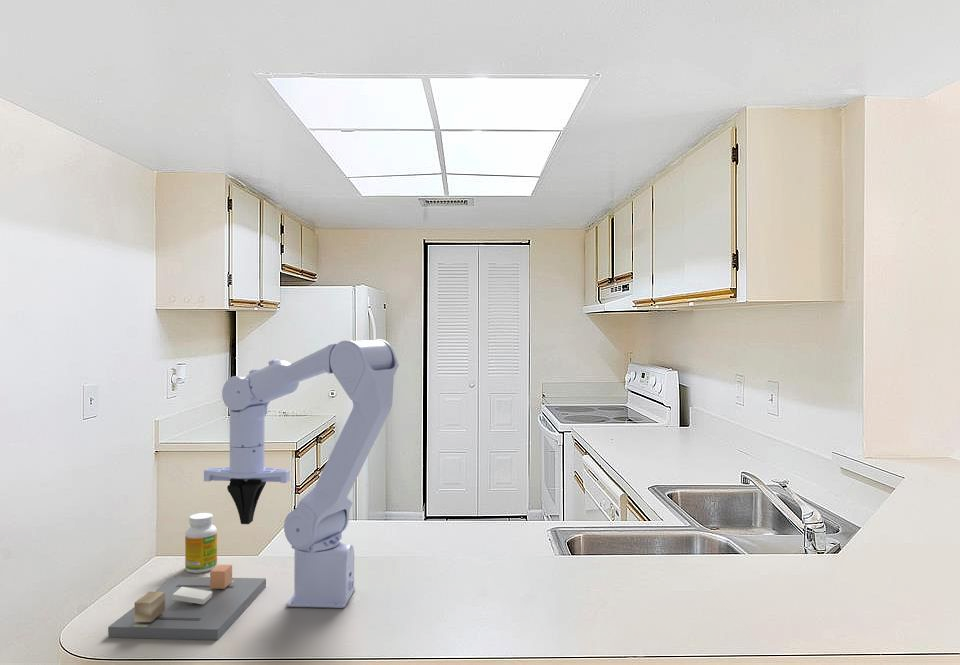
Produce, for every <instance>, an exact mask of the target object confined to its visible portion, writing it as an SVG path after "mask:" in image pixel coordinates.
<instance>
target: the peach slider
mask: <svg viewBox="0 0 960 665" xmlns="http://www.w3.org/2000/svg"><path fill="white" fill-rule="evenodd" d="M209 577H210V588H222V589H225V588H226V587H227V586H228V585H229V584H230V583H231V582H232V578H233V564H217V566H216V567H215V568H213V569H212V570H210V571H209Z"/></svg>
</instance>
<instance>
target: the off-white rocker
mask: <svg viewBox="0 0 960 665" xmlns="http://www.w3.org/2000/svg"><path fill="white" fill-rule="evenodd" d="M211 597H212V591H206V590H199V589H193V588H187V587H181V588H180V589H178V590H177V591H176V592H175V593H174V594H173V595H172V600H178V601H185V602H191V603H197V604H204V603H206V602H207V601H208V600H209V599H210V598H211Z"/></svg>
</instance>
